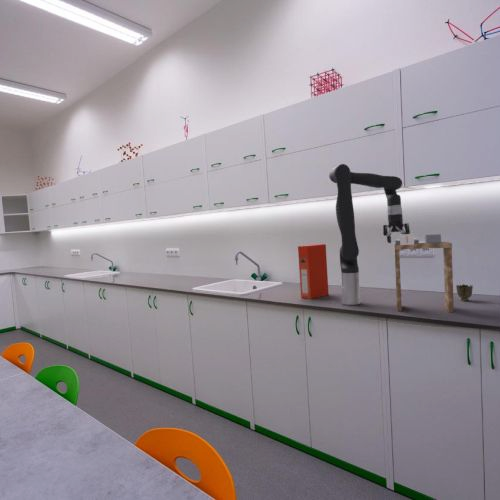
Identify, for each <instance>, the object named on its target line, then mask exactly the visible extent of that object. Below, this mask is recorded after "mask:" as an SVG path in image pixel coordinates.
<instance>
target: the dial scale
mask: <svg viewBox="0 0 500 500" xmlns="http://www.w3.org/2000/svg"><path fill="white" fill-rule="evenodd" d="M394 242H395V243H394V244H396V245H415V244H419V243H420V240H419V239H418V238H417V237H415V234H414V233H410V234H399V238H396V239H395V241H394Z"/></svg>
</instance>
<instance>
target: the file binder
mask: <svg viewBox="0 0 500 500" xmlns="http://www.w3.org/2000/svg"><path fill="white" fill-rule="evenodd" d="M297 252H298V267H299V268H298V269H299V270H298V271H299V285H300V298H301V299H305V300H313V299H317V298H320V297H324V296H329V295H330V294H329V280H328V262H327V261H328V260H327V245H326V243H322V244H321V243H319V244H308V245H300V246H297Z"/></svg>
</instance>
